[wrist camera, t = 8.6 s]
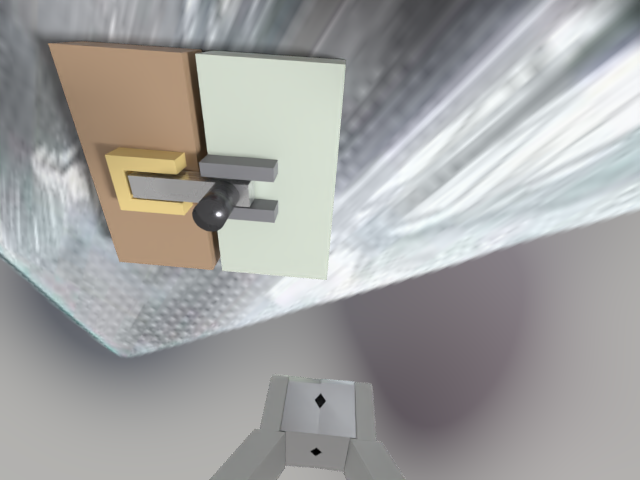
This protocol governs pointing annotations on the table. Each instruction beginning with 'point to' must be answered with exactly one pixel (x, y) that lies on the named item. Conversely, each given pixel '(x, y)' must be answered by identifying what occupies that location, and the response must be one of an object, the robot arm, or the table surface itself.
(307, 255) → the door and jamb
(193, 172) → the bolt
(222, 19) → the table surface
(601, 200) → the table surface
